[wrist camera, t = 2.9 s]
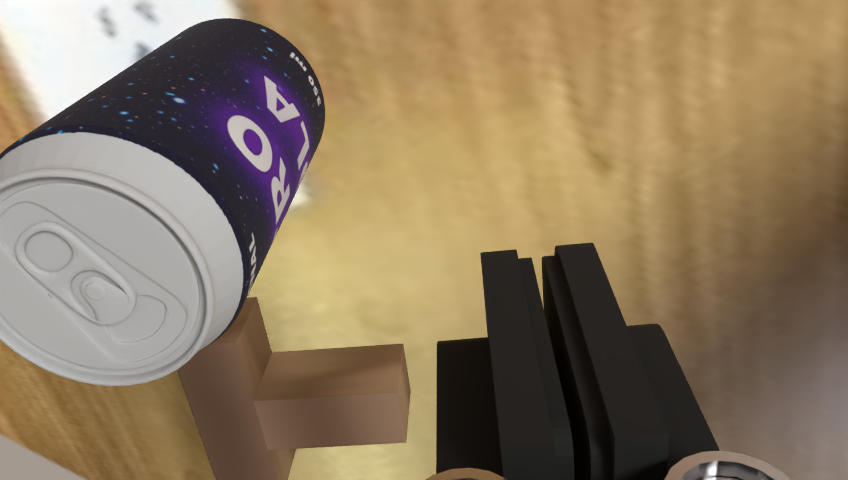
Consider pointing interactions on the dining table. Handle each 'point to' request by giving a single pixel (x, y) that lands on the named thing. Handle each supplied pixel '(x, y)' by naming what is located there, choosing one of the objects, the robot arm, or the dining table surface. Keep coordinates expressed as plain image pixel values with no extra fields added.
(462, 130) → the dining table surface
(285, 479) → the walnut T block
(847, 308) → the dining table surface
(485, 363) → the robot arm
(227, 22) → the beverage can
